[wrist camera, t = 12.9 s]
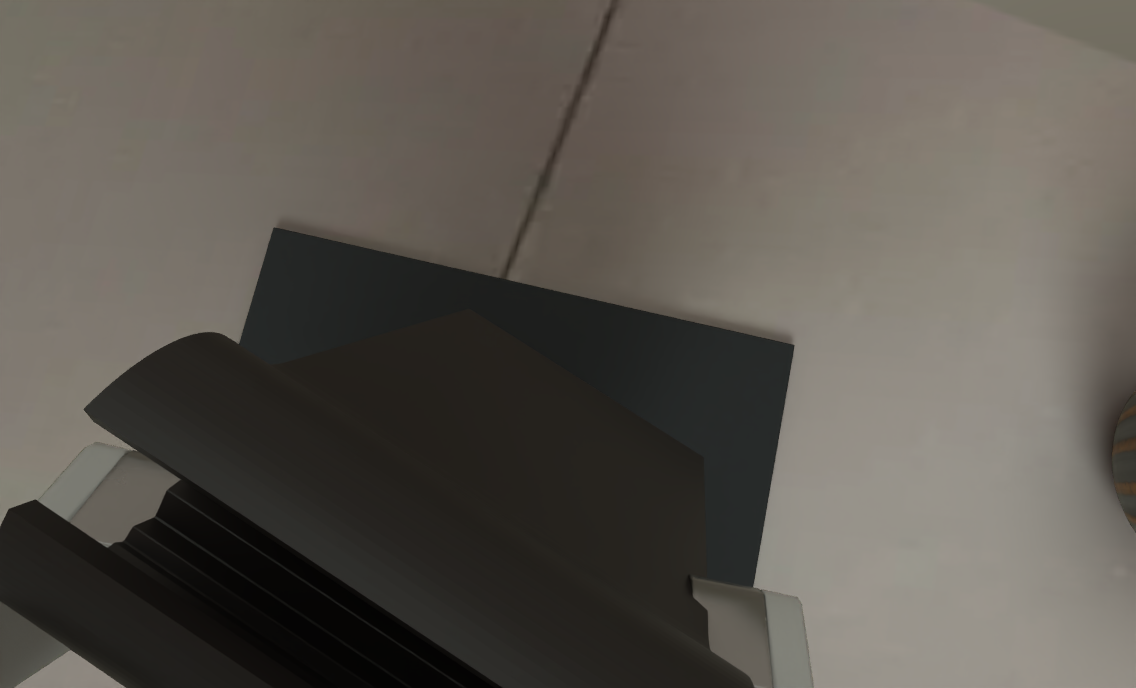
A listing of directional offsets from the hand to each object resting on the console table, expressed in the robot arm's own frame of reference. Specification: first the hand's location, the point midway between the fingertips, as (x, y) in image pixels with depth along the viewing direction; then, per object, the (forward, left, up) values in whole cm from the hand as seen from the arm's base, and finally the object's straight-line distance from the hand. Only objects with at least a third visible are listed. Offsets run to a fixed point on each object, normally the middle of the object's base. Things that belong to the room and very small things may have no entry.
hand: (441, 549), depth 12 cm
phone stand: (0, -1, -7) cm, 7 cm away
